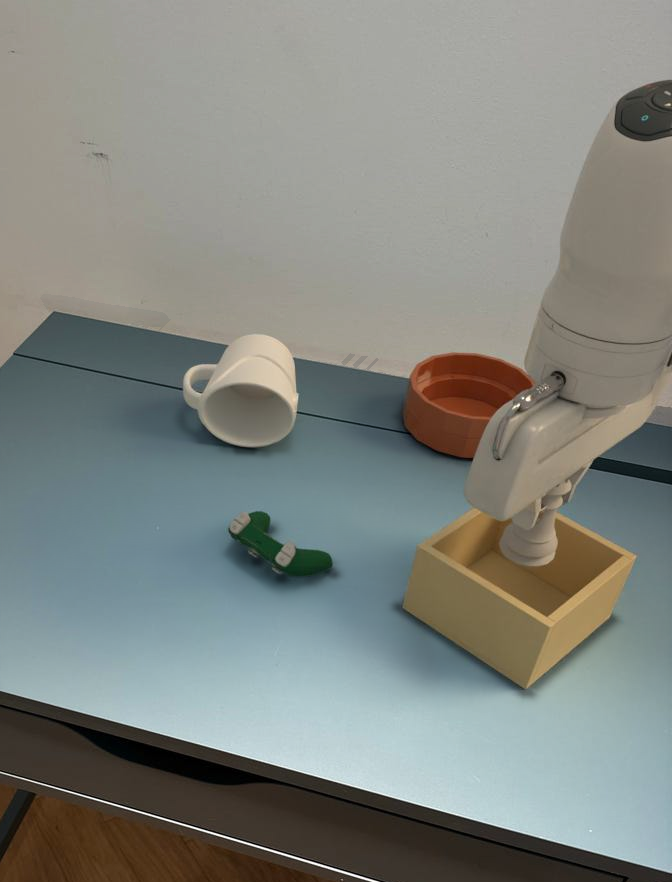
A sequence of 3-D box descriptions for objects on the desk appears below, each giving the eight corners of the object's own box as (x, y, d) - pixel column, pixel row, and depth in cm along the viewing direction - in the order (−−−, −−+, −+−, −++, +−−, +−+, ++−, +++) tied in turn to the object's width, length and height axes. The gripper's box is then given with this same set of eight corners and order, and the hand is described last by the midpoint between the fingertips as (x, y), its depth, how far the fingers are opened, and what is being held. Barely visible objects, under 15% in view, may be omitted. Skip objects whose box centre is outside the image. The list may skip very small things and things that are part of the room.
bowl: (451, 380, 112) (461, 340, 109) (550, 430, 106) (563, 388, 102) (377, 422, 106) (385, 380, 103) (477, 477, 100) (489, 434, 96)
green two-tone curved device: (243, 546, 94) (212, 530, 89) (265, 511, 93) (235, 494, 88) (315, 596, 89) (287, 582, 84) (339, 560, 88) (312, 544, 83)
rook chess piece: (539, 533, 83) (567, 452, 77) (562, 568, 80) (593, 486, 74) (489, 537, 82) (513, 457, 76) (510, 573, 79) (537, 492, 73)
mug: (298, 405, 108) (306, 338, 102) (290, 454, 101) (298, 385, 96) (189, 393, 109) (191, 326, 104) (175, 441, 103) (176, 372, 97)
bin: (488, 546, 92) (507, 484, 87) (609, 618, 85) (637, 555, 80) (402, 608, 86) (417, 545, 81) (525, 689, 79) (550, 627, 74)
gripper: (549, 425, 61) (495, 591, 71) (709, 322, 71) (643, 480, 81) (466, 384, 65) (425, 548, 74) (630, 291, 75) (575, 446, 84)
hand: (540, 512), depth 78 cm, fingers closed on rook chess piece, 3 cm apart
